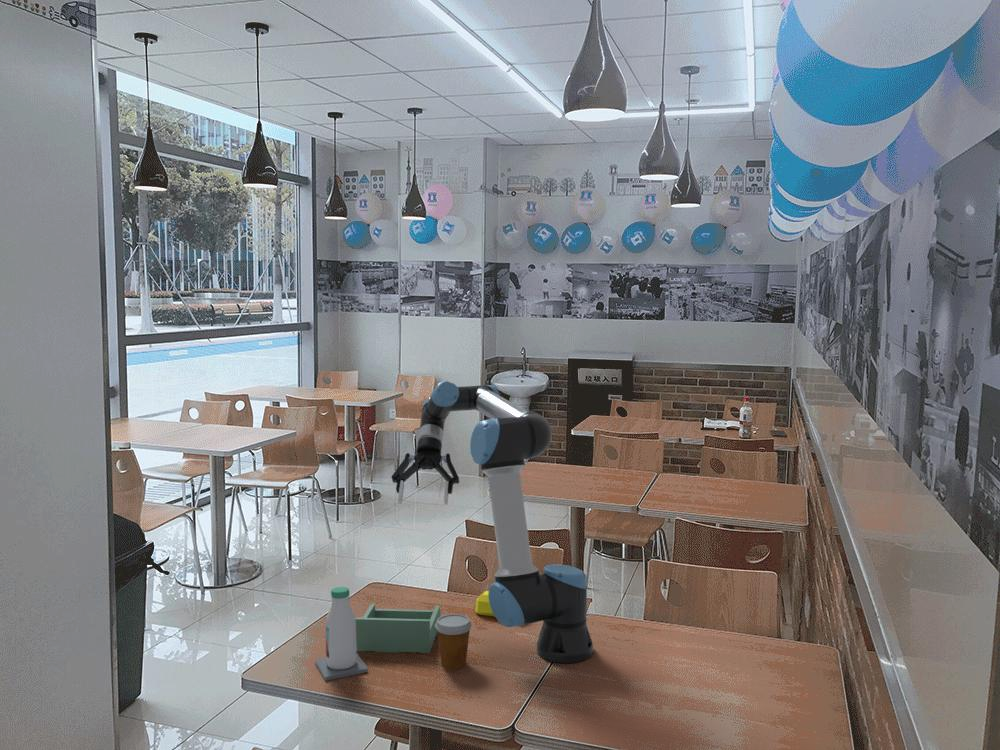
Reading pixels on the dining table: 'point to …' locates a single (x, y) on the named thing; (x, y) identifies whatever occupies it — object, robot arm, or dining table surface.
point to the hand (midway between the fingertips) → (422, 502)
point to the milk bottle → (340, 631)
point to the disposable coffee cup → (453, 639)
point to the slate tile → (334, 674)
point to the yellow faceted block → (483, 605)
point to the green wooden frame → (397, 630)
